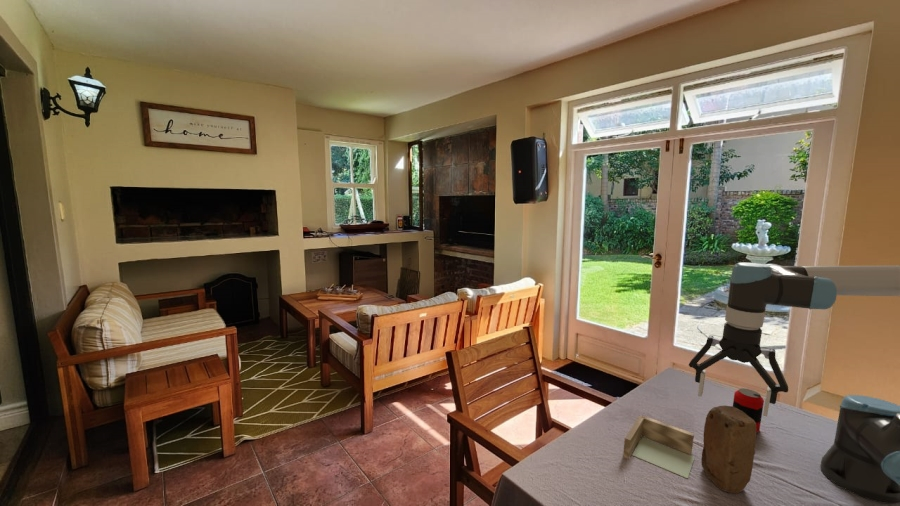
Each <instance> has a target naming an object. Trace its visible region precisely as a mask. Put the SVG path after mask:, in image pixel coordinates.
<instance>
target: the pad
mask: <svg viewBox="0 0 900 506" xmlns="http://www.w3.org/2000/svg"><path fill="white" fill-rule="evenodd" d="M631 456H633V457H635V458H638V459H640V460H641V461H644V462H647V463H649V464H652V465H653V466H656V467H659V468H661V469H663V470H666V471H668V472H670V473H673V474H676V475H678V476H681V477H682V478H685V479H688V478H689V476H690V474H691V473H690V472H691V469H692V466H693V463H694V460H695V456H693V455H692V454H691V455H690V454H688V453H685V452H683V451H680V450H677V449H675V448H672V447H670V446H667V445H664V444H662V443H659V442H657V441H654V440H652V439H649V438H646V437H644V436H642V437H641V438H640V440H639V442H638V444H637V445H636V447H635V449H634V451H633V452H632V454H631Z"/></svg>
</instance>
